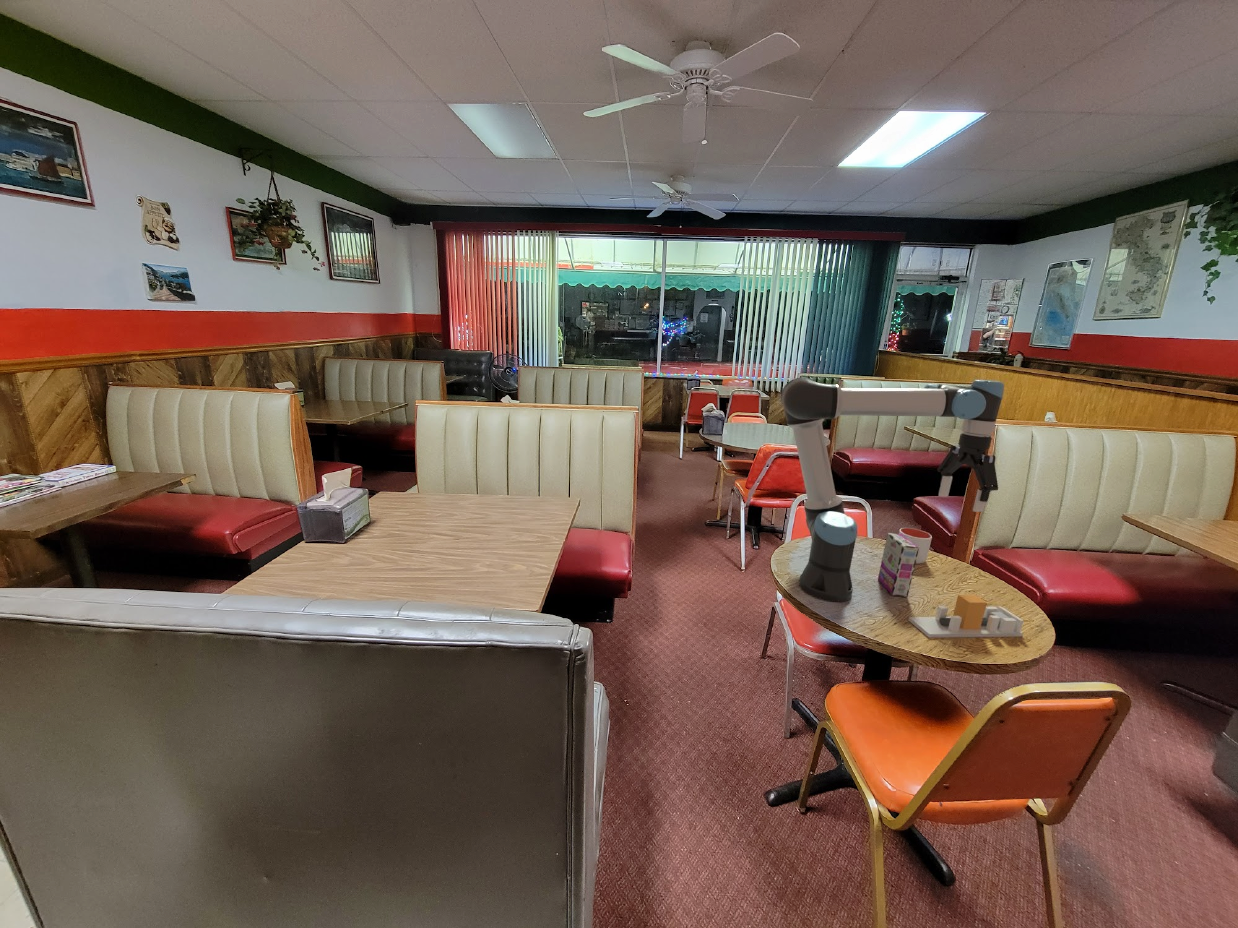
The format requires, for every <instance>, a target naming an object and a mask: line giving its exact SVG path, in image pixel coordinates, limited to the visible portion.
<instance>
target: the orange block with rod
mask: <svg viewBox="0 0 1238 928" xmlns="http://www.w3.org/2000/svg"><path fill="white" fill-rule="evenodd" d="M987 605H988V602H987V601H986V600H984V599H983V598H981V597H979V596H978V595H976V594H957V598H956V602H955V607H954V610H953V614H952V616H959V617H961V618H962V620H961V624H960V628H962V629H980V627H981V625H987V622H988V619H989V618H983V616H984V612H985V609H986V607H987ZM990 616H998V617H999V618H1000V620H999V623H998V627H997V628H999V627H1000V624H1001V620H1002V618H1009V617H1008V616H1006V615H1004V614H1003V613H1001V612H990ZM950 620H951V618H941V619H940V623H941V625H942V626H949V623H950Z"/></svg>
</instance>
